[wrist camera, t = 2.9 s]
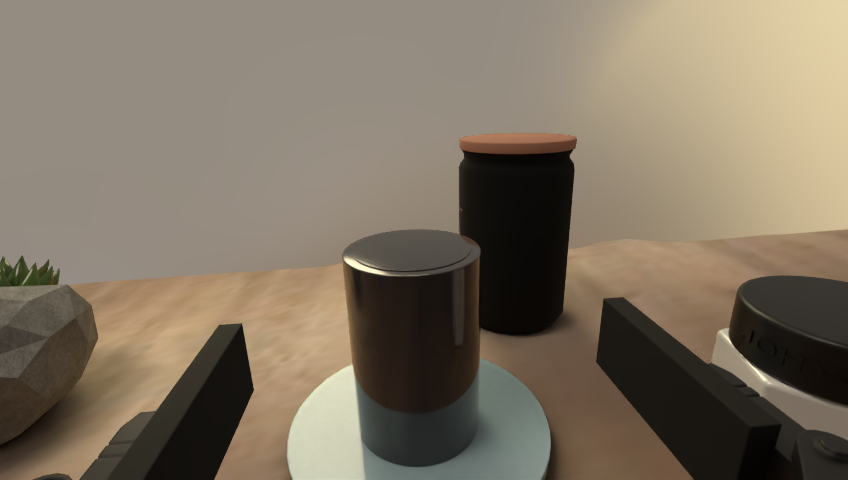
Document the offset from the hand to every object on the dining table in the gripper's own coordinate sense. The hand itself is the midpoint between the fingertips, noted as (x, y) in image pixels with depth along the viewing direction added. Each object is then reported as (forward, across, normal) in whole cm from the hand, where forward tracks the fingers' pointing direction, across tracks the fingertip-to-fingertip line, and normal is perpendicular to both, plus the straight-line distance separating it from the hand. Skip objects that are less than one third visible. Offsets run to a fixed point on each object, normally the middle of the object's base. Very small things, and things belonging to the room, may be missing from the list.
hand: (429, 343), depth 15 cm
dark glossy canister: (+10, 0, -12) cm, 15 cm away
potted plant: (+16, -31, -13) cm, 37 cm away
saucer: (+10, 0, -13) cm, 16 cm away
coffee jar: (+26, +11, -13) cm, 31 cm away
